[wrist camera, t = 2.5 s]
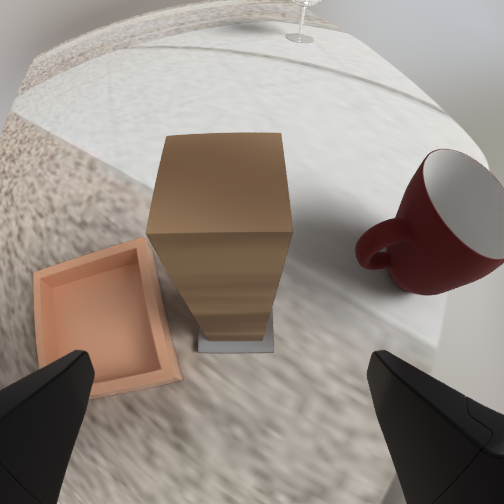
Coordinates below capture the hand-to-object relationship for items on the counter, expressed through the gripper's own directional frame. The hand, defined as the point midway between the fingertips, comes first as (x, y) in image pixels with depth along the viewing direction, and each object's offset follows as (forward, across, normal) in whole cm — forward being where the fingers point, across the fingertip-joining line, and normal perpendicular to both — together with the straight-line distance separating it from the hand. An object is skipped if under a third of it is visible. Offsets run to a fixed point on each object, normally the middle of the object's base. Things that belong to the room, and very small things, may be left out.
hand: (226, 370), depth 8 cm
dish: (+10, +10, +6) cm, 15 cm away
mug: (+14, -13, +3) cm, 19 cm away
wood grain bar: (+11, 0, +5) cm, 12 cm away
